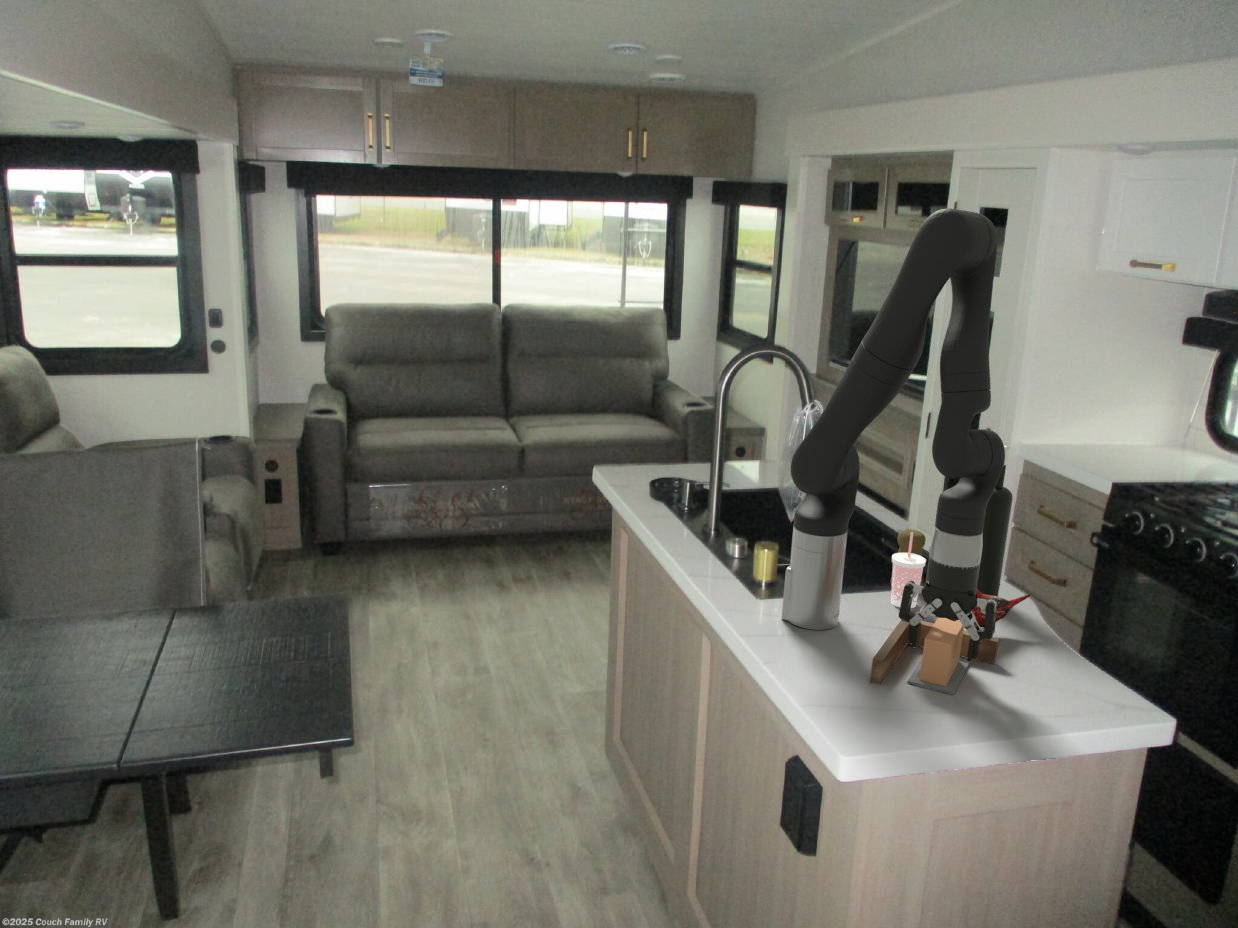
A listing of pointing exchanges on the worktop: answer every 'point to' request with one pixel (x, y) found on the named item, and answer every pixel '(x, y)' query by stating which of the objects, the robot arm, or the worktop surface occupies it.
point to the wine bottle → (995, 536)
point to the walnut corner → (900, 639)
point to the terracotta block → (941, 651)
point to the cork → (917, 543)
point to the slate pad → (948, 689)
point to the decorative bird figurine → (1002, 607)
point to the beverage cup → (905, 573)
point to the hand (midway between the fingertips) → (942, 652)
